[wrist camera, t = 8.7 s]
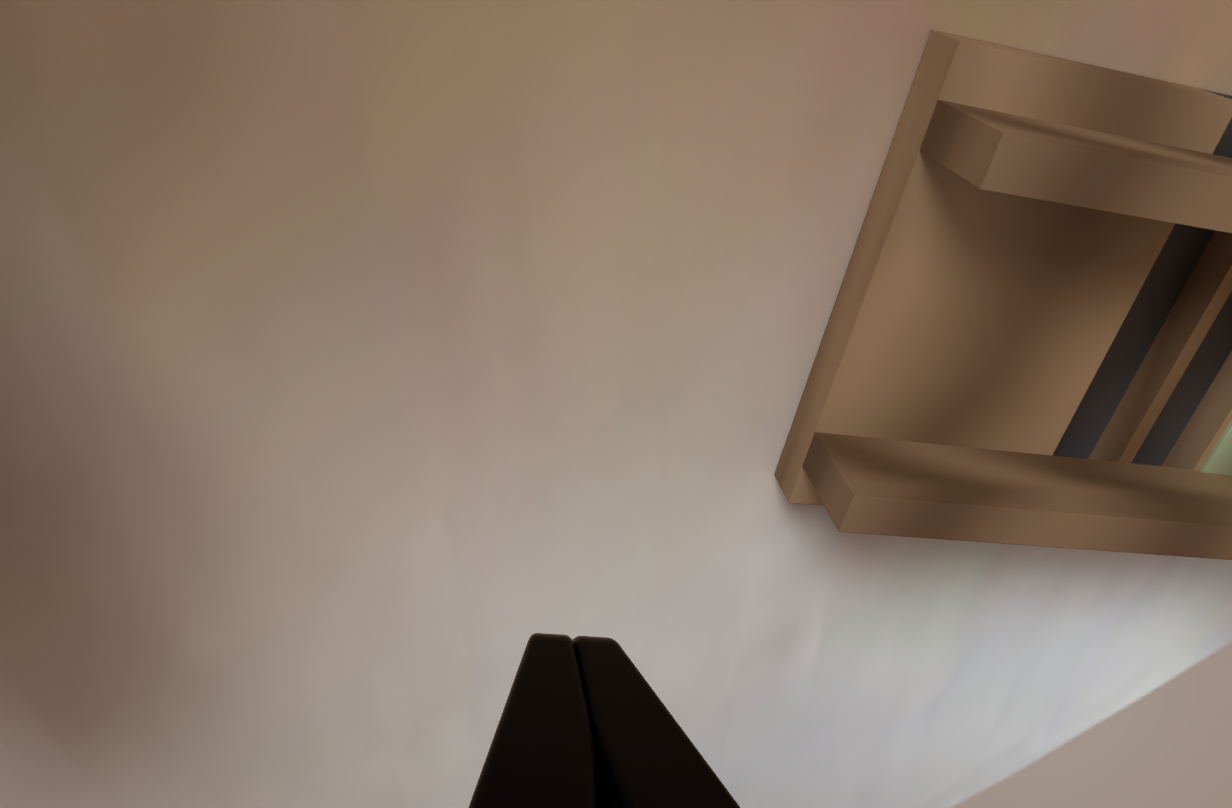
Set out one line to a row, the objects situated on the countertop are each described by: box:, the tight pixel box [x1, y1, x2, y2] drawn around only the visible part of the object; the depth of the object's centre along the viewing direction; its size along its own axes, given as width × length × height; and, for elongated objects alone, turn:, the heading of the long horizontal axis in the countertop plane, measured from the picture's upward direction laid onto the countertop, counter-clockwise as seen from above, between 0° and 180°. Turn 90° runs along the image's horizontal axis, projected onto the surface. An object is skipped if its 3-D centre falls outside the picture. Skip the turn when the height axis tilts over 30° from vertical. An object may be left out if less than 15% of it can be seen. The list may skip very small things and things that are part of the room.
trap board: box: [774, 30, 1232, 560], centre depth 21 cm, size 17×11×4 cm, turn 79°
